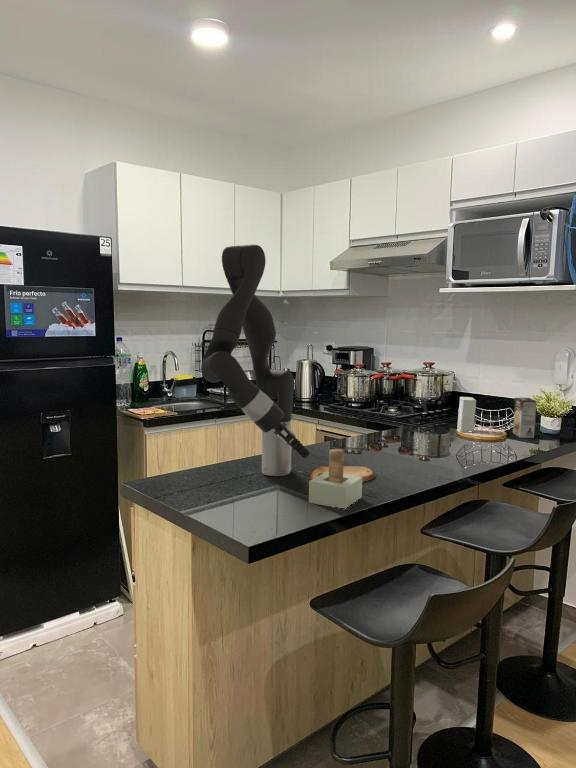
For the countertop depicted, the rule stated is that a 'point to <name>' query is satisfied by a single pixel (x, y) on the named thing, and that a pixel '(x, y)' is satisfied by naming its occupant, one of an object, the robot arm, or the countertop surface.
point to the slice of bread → (347, 472)
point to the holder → (335, 491)
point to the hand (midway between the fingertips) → (303, 451)
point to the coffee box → (524, 417)
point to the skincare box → (466, 414)
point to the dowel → (336, 465)
